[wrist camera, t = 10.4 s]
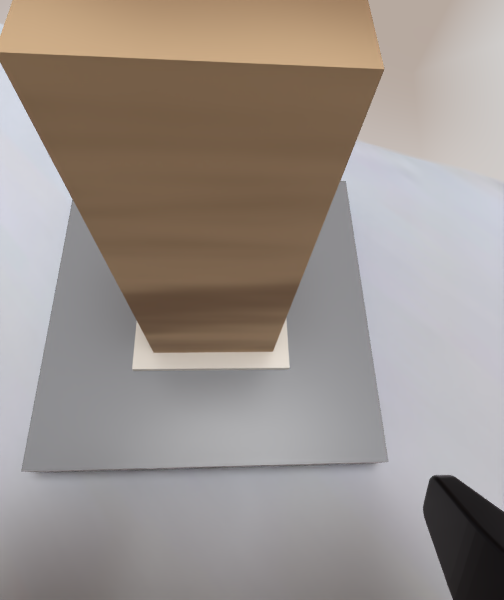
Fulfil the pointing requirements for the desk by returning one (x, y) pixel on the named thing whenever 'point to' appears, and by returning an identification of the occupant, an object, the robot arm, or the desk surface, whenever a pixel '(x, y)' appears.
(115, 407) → the baseplate
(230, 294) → the oak block
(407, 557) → the desk surface
